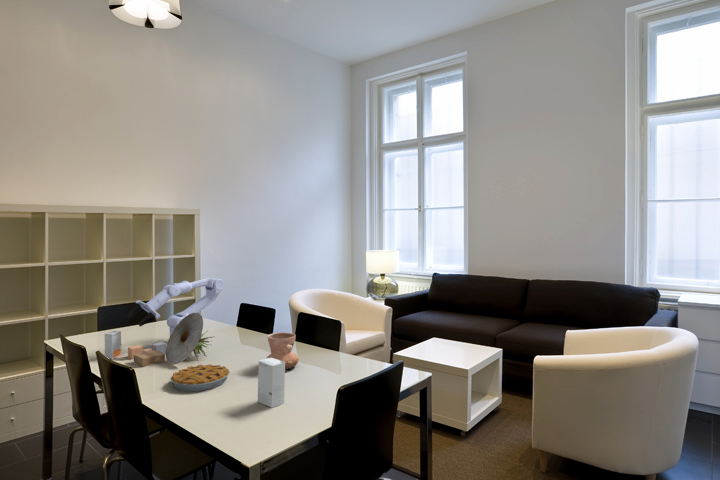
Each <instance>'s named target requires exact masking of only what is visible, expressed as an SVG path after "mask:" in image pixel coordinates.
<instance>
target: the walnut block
mask: <svg viewBox="0 0 720 480" xmlns="http://www.w3.org/2000/svg"><path fill="white" fill-rule="evenodd" d="M133 356H134V359H133V363H134V364H135V365H137V366H139V367H142V368H145V367H149V366H153V365H157V364H162V363H165V362H166V354H164V353H161V352H159V351H157V350H153V351H148V352H144V353H139V354H134V355H133Z"/></svg>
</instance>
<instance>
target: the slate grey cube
mask: <svg viewBox="0 0 720 480" xmlns="http://www.w3.org/2000/svg"><path fill="white" fill-rule="evenodd" d="M166 346H167V343H165V342H163V341H159V342H155V343H151V347H152V351H153V350H157V351H159V352H161V353H164V354H165V355H166Z"/></svg>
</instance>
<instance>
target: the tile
mask: <svg viewBox="0 0 720 480" xmlns="http://www.w3.org/2000/svg"><path fill="white" fill-rule="evenodd" d="M148 351H152V346H151V347H146V348H143V353H144V352H148Z"/></svg>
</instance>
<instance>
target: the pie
mask: <svg viewBox="0 0 720 480" xmlns="http://www.w3.org/2000/svg"><path fill="white" fill-rule="evenodd" d="M230 374H231V372H230V370H229V368H227V367H226V366H224V365H223V366H221V365H220V364H217V365H213V364H205V365H204V364H198V365H197V366H193V365H191V366H188V367H187V368H182V369H179V370H178V371H175V372H173V374H172V375H171V377H170V381H171V383H173V385H174V387H175V388H176V389H178V390H180V391H184V392H185V391H186V392H202V391H208V390H211V389H214V388H217V387H220V386H221V385H223V384H225V382H226V381H227V379H228V376H229V375H230Z"/></svg>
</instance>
